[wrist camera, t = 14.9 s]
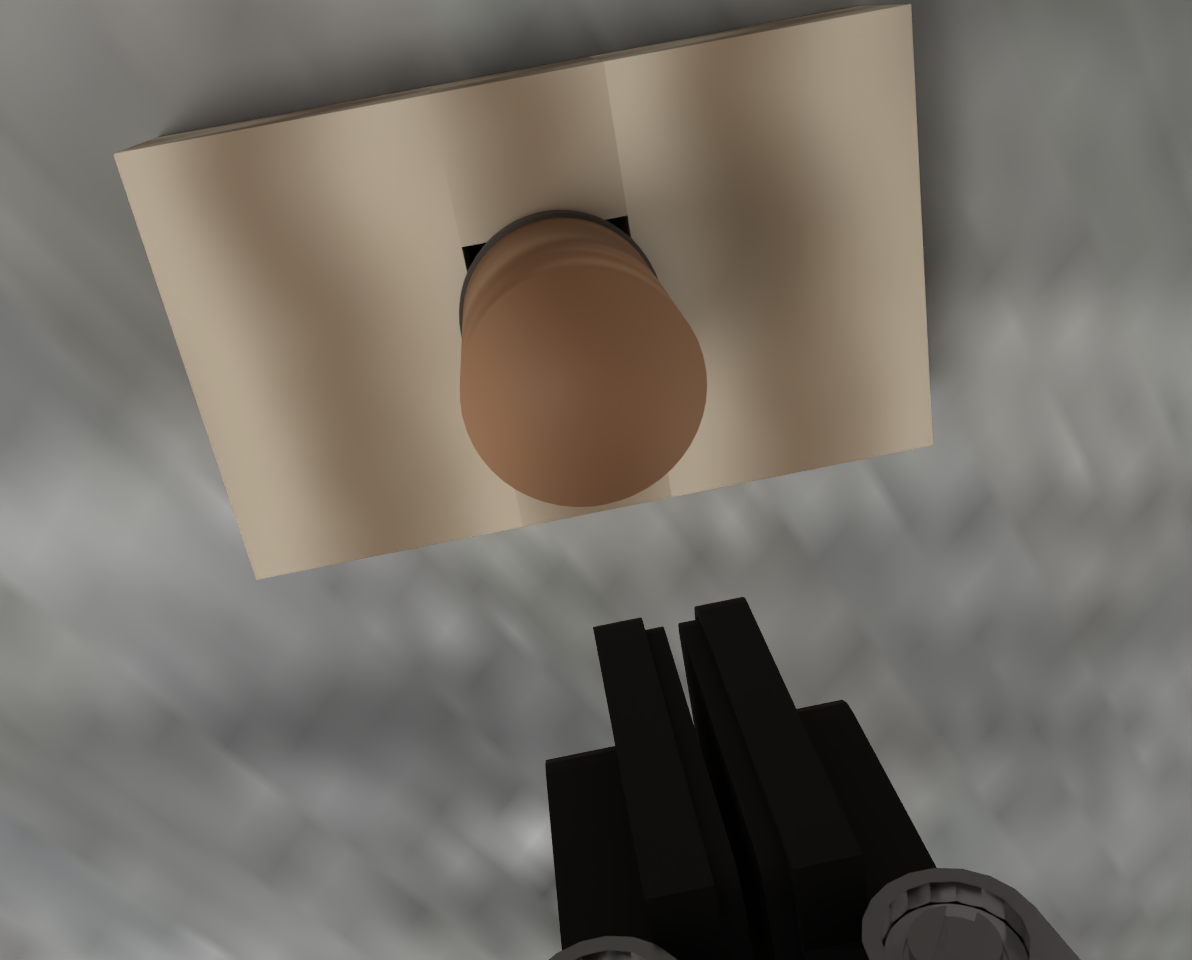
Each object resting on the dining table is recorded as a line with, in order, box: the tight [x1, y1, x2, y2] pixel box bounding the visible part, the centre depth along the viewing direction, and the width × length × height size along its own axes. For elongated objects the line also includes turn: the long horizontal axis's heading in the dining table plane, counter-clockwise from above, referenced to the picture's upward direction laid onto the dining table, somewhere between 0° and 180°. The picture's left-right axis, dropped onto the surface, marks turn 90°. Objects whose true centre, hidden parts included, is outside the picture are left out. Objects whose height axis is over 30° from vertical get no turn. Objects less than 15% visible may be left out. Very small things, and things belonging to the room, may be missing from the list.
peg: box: [459, 210, 707, 507], centre depth 28 cm, size 5×5×11 cm
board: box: [113, 4, 933, 580], centre depth 31 cm, size 20×12×4 cm, turn 100°
